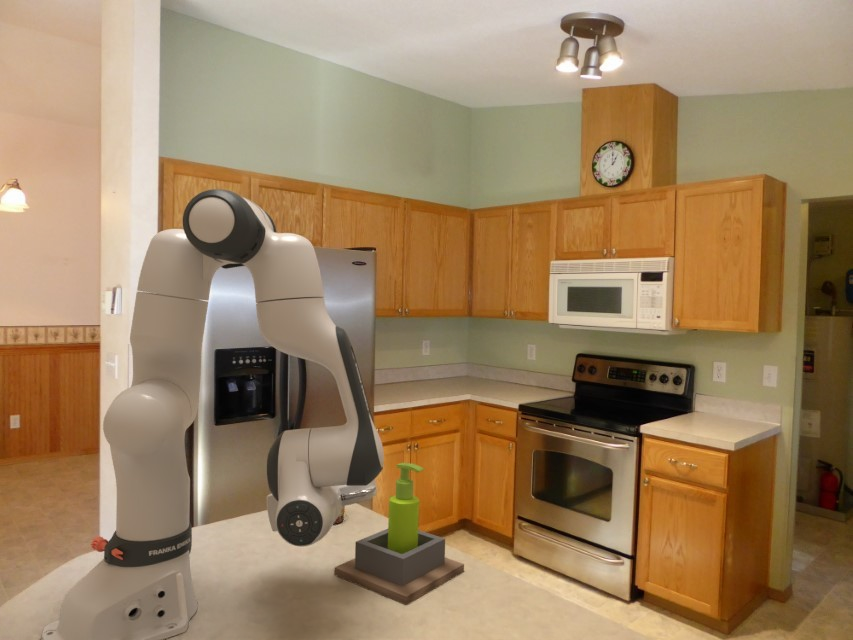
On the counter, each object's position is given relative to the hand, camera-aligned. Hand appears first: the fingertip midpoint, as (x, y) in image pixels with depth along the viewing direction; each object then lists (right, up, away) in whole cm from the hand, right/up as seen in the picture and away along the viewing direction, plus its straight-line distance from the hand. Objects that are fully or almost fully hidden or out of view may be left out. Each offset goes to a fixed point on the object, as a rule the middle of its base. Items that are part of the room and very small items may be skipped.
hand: (328, 490), depth 120 cm
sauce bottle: (-3, -15, +26) cm, 30 cm away
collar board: (+14, -16, -2) cm, 21 cm away
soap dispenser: (+15, -14, -2) cm, 21 cm away
